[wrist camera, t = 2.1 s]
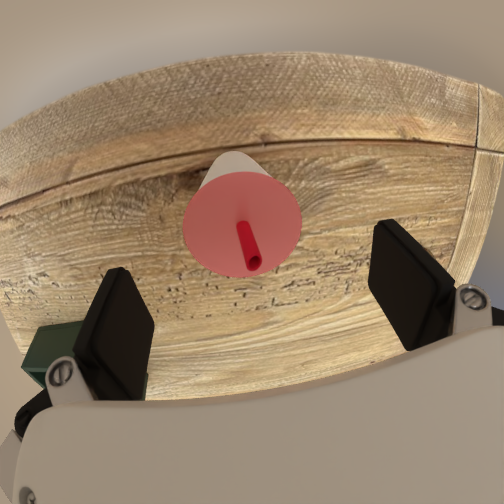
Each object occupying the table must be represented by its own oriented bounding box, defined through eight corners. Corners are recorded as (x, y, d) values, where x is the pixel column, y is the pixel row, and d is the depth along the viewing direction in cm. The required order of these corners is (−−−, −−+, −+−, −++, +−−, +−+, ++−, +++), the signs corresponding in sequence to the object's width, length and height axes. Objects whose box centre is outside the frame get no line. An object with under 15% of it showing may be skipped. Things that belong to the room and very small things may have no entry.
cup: (256, 127, 18) (306, 176, 8) (277, 193, 21) (332, 298, 11) (186, 153, 19) (146, 234, 9) (212, 215, 21) (210, 336, 11)
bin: (85, 377, 33) (76, 415, 27) (38, 326, 26) (20, 367, 21) (148, 374, 33) (143, 418, 27) (102, 317, 26) (86, 367, 20)
